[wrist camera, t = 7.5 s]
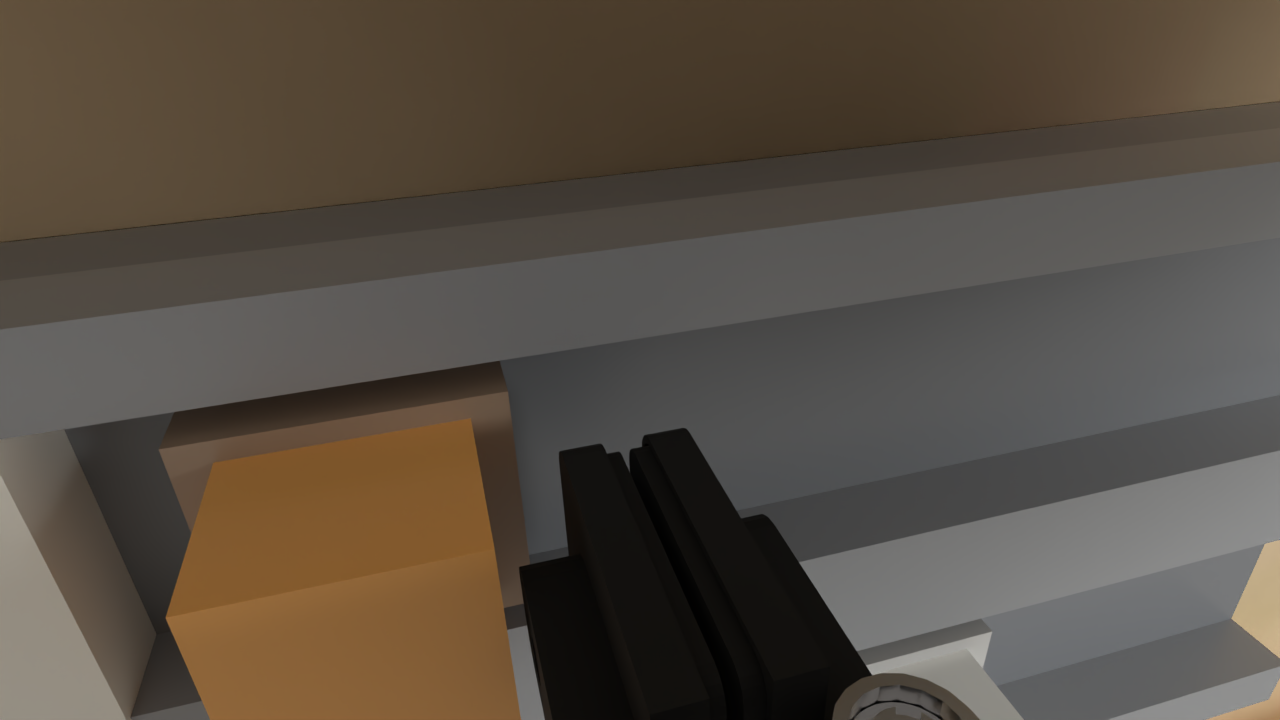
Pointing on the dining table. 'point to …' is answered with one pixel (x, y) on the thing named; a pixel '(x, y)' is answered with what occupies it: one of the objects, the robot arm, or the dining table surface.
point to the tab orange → (351, 550)
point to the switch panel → (725, 391)
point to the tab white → (947, 666)
